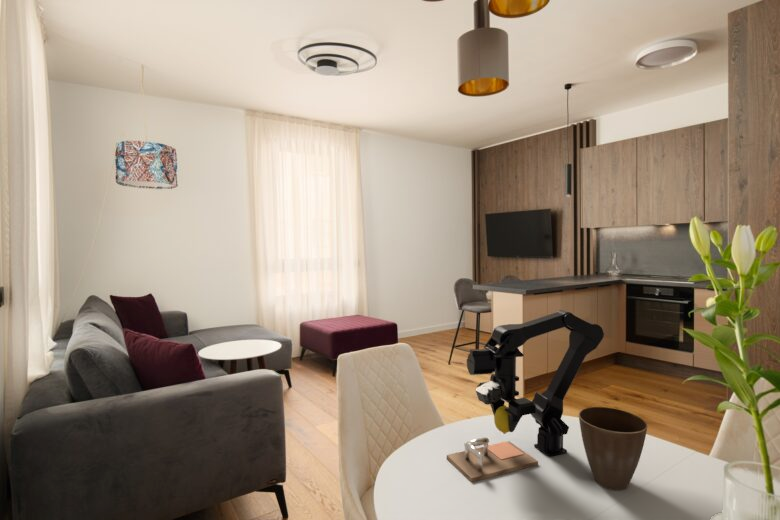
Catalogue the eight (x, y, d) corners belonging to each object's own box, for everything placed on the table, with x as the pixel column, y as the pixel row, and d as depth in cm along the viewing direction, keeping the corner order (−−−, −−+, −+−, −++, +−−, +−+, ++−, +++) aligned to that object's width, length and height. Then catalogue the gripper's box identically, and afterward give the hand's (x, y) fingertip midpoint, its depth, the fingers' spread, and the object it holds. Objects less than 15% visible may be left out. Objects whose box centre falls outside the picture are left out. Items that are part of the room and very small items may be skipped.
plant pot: (619, 507, 94) (621, 438, 93) (564, 474, 107) (565, 413, 107) (658, 489, 101) (660, 424, 100) (602, 460, 114) (604, 402, 113)
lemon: (515, 439, 114) (515, 410, 114) (494, 437, 115) (494, 408, 115) (513, 430, 119) (514, 402, 119) (493, 428, 120) (494, 401, 120)
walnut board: (509, 444, 123) (509, 441, 123) (538, 464, 112) (538, 461, 112) (446, 458, 115) (446, 455, 115) (471, 482, 104) (471, 478, 104)
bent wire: (486, 452, 116) (486, 436, 116) (503, 466, 109) (504, 448, 109) (463, 458, 113) (463, 441, 113) (479, 472, 106) (479, 454, 106)
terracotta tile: (506, 442, 122) (506, 441, 122) (523, 454, 115) (523, 453, 115) (484, 447, 119) (484, 446, 119) (501, 460, 112) (501, 459, 112)
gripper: (461, 366, 122) (461, 419, 123) (502, 387, 105) (501, 448, 105) (493, 361, 126) (493, 412, 127) (537, 381, 109) (536, 440, 110)
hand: (504, 427), depth 117 cm, fingers closed on lemon, 5 cm apart
